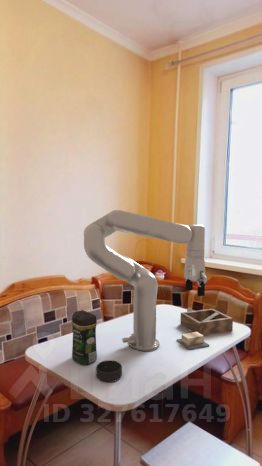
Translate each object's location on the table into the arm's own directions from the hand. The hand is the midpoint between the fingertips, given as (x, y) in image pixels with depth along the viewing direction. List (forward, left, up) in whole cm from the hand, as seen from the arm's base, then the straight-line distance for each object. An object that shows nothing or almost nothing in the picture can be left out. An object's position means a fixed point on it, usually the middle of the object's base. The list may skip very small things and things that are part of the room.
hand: (194, 293), depth 141 cm
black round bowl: (-43, -14, -22) cm, 51 cm away
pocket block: (+15, +13, -22) cm, 29 cm away
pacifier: (+13, +26, -22) cm, 36 cm away
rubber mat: (-2, -1, -22) cm, 22 cm away
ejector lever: (+15, +13, -19) cm, 27 cm away
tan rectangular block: (-1, -1, -21) cm, 21 cm away
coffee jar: (-49, +1, -22) cm, 53 cm away
